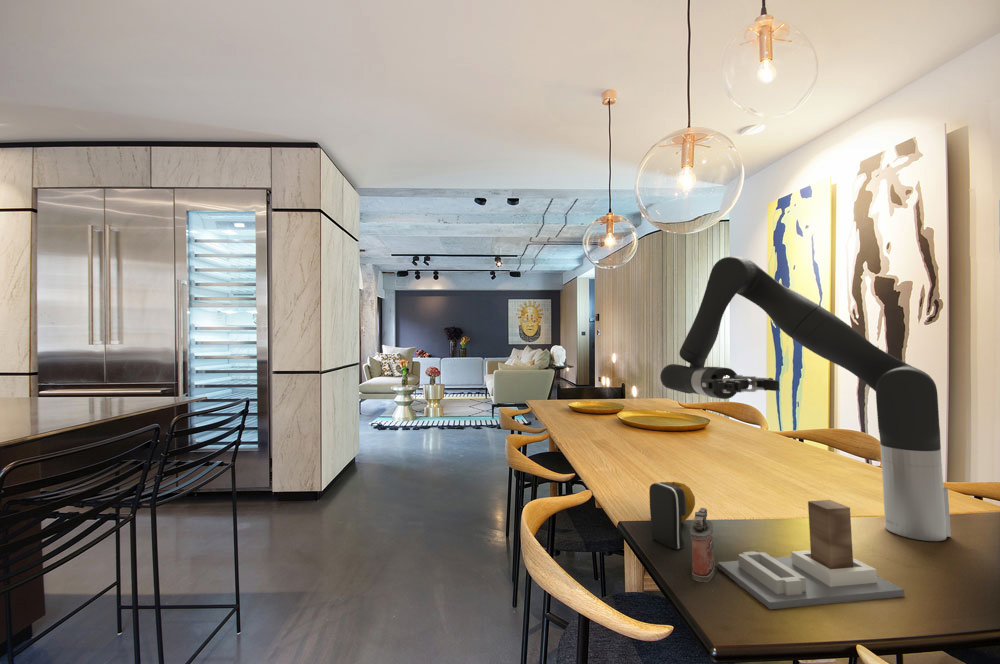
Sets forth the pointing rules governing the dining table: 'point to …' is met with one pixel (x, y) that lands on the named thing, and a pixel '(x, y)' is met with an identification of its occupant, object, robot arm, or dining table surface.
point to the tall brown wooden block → (830, 534)
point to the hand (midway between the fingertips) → (758, 386)
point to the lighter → (702, 547)
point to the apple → (688, 497)
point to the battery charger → (667, 513)
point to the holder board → (805, 580)
